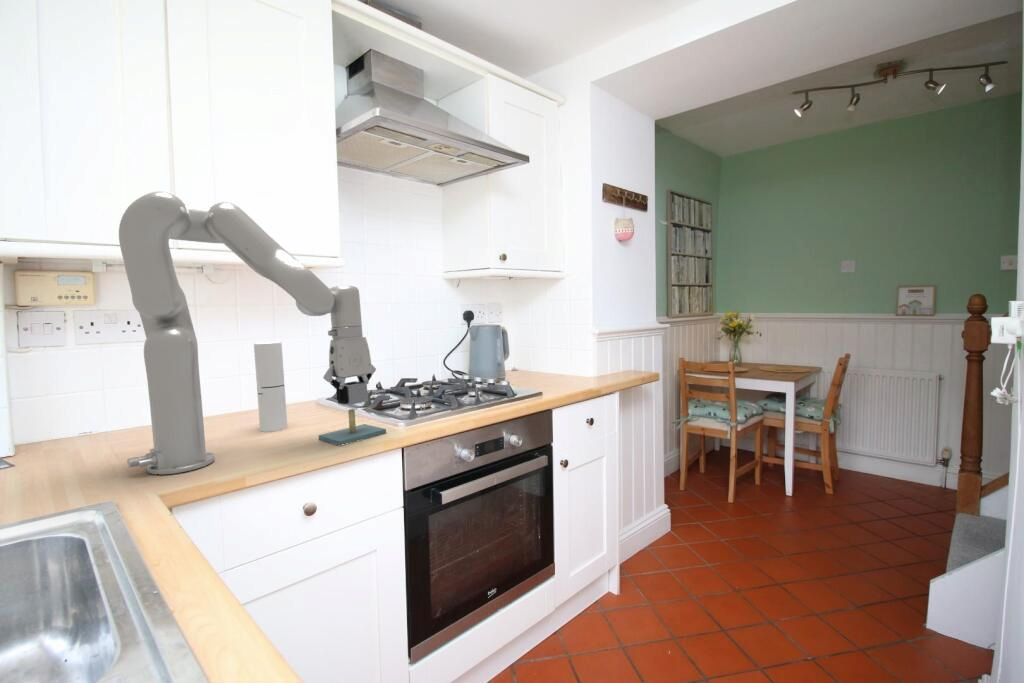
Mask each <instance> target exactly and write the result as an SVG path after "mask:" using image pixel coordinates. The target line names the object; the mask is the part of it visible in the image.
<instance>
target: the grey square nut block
mask: <svg viewBox="0 0 1024 683" xmlns="http://www.w3.org/2000/svg"><path fill="white" fill-rule="evenodd" d="M344 389H346V399H347V403H346V404H345V405H347V406H352V405H356V404H360V403H361V404H362V403H365V402H369V396H368V394H367V393H368V384H367V383H366V382H359V381H356V380H353V381H348V382H345V383H344ZM339 404H341V403H339ZM341 405H342V404H341Z"/></svg>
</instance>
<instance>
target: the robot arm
mask: <svg viewBox="0 0 1024 683" xmlns="http://www.w3.org/2000/svg"><path fill="white" fill-rule="evenodd" d="M118 226H119V227H118V241H119V247H120V251H121V256H122V260H123V264H124V269H125V273H126V276H127V280H128V283H129V284H128V285H129V288H130V293H131V298H132V299H131V300H132V304H133V307H134V308H135V310H136V311H137V312H138V313H139V318H140V320H141V323H142V328H143V331H144V334H145V338H146V339H145V341H144V344H143V358H144V366H145V372H146V379H147V389H148V391H147V392H148V400H149V409H150V421H151V429H152V430H151V431H152V440H153V448H150V449H149V452H148V453H145V454H144V455H141V456H135V457H132V458H131V457H130V458H128V459H127V466H128V468H134V467H139V468H141V467H146V472H147V471H148V472H147V473H148V474H150V473H151V474H152V475H157V474H159V476H160V475H172V474H179V473H185V472H190V471H194V470H198V469H200V468H201V469H202V468H204V467H206V466H208V465H210V464H212V463H213V462H214V461H215V454H213V453H212V452H209V451H207V449H206V436H205V426H204V414H203V413H204V412H203V402H202V391H201V390H202V389H201V380H200V379H201V378H200V366H199V347H198V340H197V336H196V332H195V329H194V324H193V321H192V317H191V312H190V310H189V305H188V301H187V298H186V295H185V293H184V290H183V289H182V286H180V284H179V281H178V276H177V274H176V270H175V266H174V261H173V258H172V253H171V249H170V243H169V242H170V240H175V241H187V242H198V243H206V244H207V243H208V244H209V243H210V244H221V245H222V244H224V246H226V247H227V248H228V249H229V250H231V252H232V253H233V254H235V255H236V256H237V257H238V258H239V259H240V260H242V261H243V263H245V264H246V265H247V266H248V267H249V268H250V269H251V270H252V271H254V272H255V273H256V274H258V275H260V276H261V277H263V278H265V279H267V280H269V281H271V282H273V283H274V284H276V285H277V286H278V287H279V288H281V289H283V291H285V293H287V294H288V295H289V296H290V297H292V299H294V300H295V306H296V307H297V309H298V310H299V311H300V312H301V313H302V314H304V315H306V316H309V317H321V316H322V317H323V316H325V315H327V314H330V323H331V328H330V329H331V330H328V331H327V335H328V337H332V339H330V342H329V349H328V350H329V352H328V361H329V363H328V364H329V365H328V366H329V367H328V369H327V370H326V372H325V373H324V375H323V379H324V380H325V381H326V382H327V383H329V385H331V386H333V388H334V389H335V391H336V392H335V393H336V400H337V403H338V404H340V403H341V405H346V403H347V399H346V389H344V383H346V379H348V378H353V377H356V378H357V380H358V382H366V383H367V385H368V384H369V383H370V382H369V381H370V380H371V378H372V376H373V375H374V373H375V372H377V371H376V370H377V369H376V367H375V366H374V365H373V364H372V358H371V353H370V349H369V344H368V340H367V338H366V337H365V336H364V335H363V325H362V323H363V322H362V311H361V310H362V309H361V299H360V298H361V297H360V291H359V289H358V287H357V286H354V285H339V286H333V287H331V288H330V287H328V286H327V285H326V284H325V283H324V282H323V281H322V280H321V279H320V278H319V277H318V276H317V275H316V274H315V273H314V272H312V270H310V269H309V268H308V267H307V266H306V265H305V264H303V263H302V262H301V261H299V260H298V259H297V258H296V257H294V255H292V254H291V253H290V252H289V251H287V250H286V249H285V248H284V247H282V246H281V245H280V244H279V243H278V242H277V241H276V240H275V239H274V238H272V237H271V236H270V235H269V234H268V233H267V232H266V231H265V230H264V229H263V228H262V227H261V226H260V225H259V224H258V223H256V222H255V220H254V219H252V218H251V217H250V215H248V214H247V213H246V212H245V211H244V210H243V209H242V208H240V207H239V206H237V205H236V204H234V203H231V202H225V201H224V202H223V201H221V202H218V203H215V204H213V205H212V206H211V207H205V206H204V207H203V206H197V205H189V204H188V205H187V204H185V202H183V201H182V199H180V198H179V197H178V196H176V195H174V194H172V193H171V192H170V193H169V192H166V191H152V192H149V193H146V194H144V195H142V196H139V197H138V198H136V200H134V201H132V202H131V203H130V204H129V206H128V207H127V208H126V209H125V211H124V213H123V214H122V217H121V219H120V221H119V225H118ZM334 378H335V379H334ZM367 394H368V392H367Z"/></svg>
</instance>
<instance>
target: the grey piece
mask: <svg viewBox="0 0 1024 683" xmlns="http://www.w3.org/2000/svg"><path fill="white" fill-rule="evenodd" d="M253 349H254V350H253V352H254V362H255V363H254V364H255V367H254V368H255V376H256V378H255V379H256V389H257V390H256V392H257V405H258V417H259V418H258V419H259V431H260V432H262V431H263V432H264V433H270V432H277V431H282V430H286V429H287V428H288V414H287V404H286V388H285V386H286V384H285V374H284V370H285V369H284V357H283V344H282V342H281V341H265V342H264V341H263V342H256V343H255V342H254V343H253Z"/></svg>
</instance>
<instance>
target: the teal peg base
mask: <svg viewBox="0 0 1024 683" xmlns="http://www.w3.org/2000/svg"><path fill="white" fill-rule="evenodd" d="M355 411H356V410H355V409H354V408H353V409H351V408H350V409H348V410H347V412H348V413H347V414H348V427H347V428H342V429H339V430H334V431H330V432H328V433H321V434H319V435H318V440H319V441H321V442H324V441H325V443H328V442H329V444H331V443H332V445H335V444H336V445H335V446H338V445H342V444H345V445H347V444H346V443H349V444H351V443H350V442H353V441H356V442H358V441H357V440H360V441H362V440H361V439H364V440H367V439H370V437H371V438H374V437H377V436H378V437H379V436H382V435H385V434H387V428H383V427H378V426H374V425H371V424H365V423H363V424H359V425H356V412H355ZM381 434H382V435H381ZM373 436H374V437H373ZM366 438H367V439H366ZM353 443H354V442H353ZM342 446H343V445H342Z"/></svg>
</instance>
